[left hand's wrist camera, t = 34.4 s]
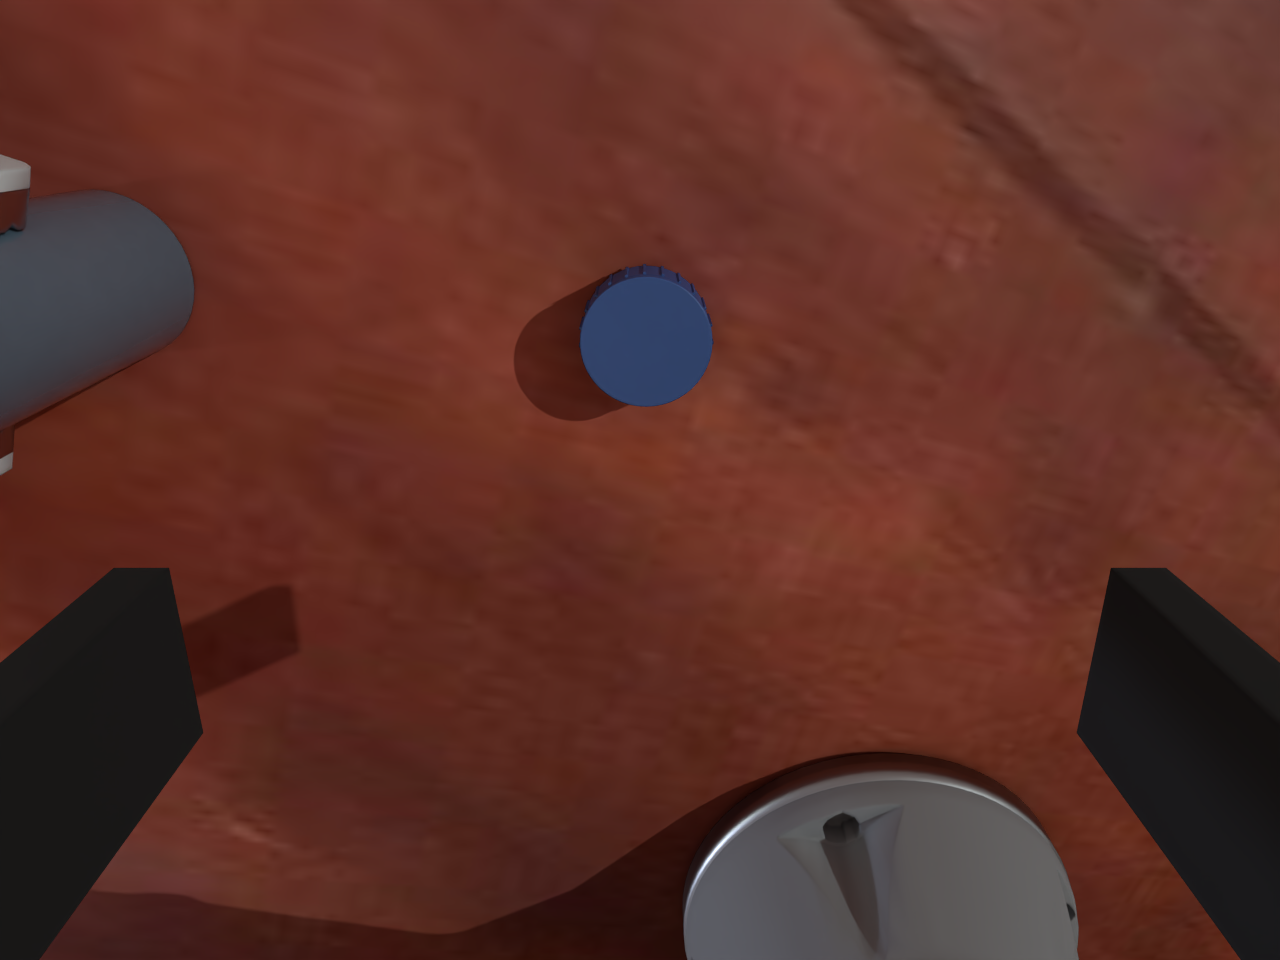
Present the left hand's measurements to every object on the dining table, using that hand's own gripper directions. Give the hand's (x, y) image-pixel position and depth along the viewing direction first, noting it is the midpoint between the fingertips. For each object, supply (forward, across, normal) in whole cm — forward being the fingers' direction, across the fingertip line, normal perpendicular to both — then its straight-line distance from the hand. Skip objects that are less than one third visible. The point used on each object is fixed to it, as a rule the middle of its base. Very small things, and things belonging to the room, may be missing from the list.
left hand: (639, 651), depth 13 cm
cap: (+15, 0, -1) cm, 15 cm away
